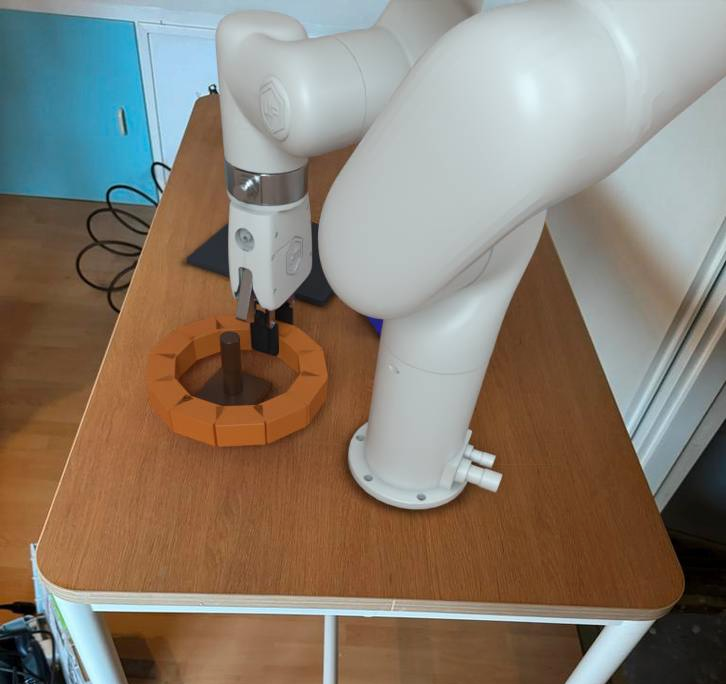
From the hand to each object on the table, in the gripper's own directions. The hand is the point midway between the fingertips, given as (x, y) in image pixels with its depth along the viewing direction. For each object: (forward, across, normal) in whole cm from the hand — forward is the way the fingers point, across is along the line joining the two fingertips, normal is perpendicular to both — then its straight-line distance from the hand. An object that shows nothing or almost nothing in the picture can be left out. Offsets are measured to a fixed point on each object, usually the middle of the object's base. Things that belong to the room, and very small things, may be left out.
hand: (272, 342), depth 73 cm
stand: (+3, -8, +1) cm, 8 cm away
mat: (+2, +22, +9) cm, 24 cm away
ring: (+1, -8, 0) cm, 8 cm away
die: (+3, +14, -10) cm, 17 cm away
